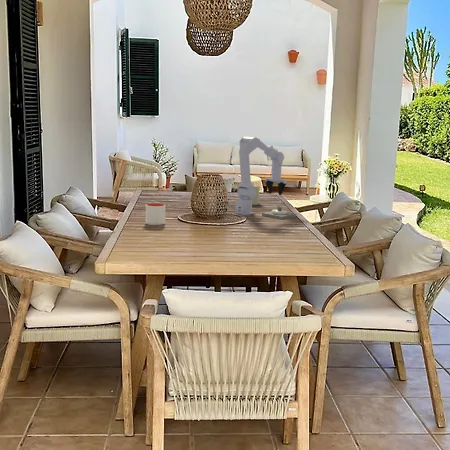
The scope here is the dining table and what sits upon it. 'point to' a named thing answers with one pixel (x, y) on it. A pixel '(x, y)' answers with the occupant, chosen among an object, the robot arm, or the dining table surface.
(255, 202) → the can
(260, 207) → the dining table surface
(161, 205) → the cup
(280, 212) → the dial
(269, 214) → the dial plate
